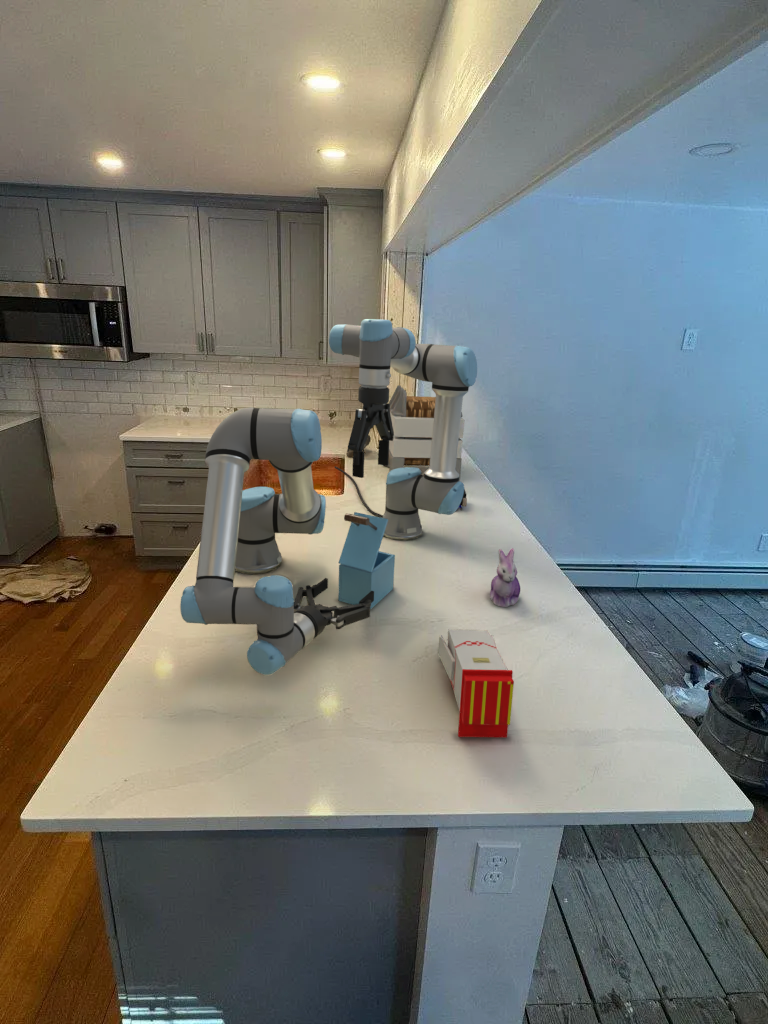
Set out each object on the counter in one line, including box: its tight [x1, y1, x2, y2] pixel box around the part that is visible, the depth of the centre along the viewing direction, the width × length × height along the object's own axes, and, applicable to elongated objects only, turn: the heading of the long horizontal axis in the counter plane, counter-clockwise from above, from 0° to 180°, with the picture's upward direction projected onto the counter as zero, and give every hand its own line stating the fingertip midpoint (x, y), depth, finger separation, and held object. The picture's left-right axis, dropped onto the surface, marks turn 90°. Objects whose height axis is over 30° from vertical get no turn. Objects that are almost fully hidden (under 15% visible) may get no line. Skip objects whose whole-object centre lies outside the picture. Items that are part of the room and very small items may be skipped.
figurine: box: [489, 547, 521, 608], centre depth 154 cm, size 9×10×15 cm
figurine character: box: [458, 488, 468, 511], centre depth 230 cm, size 7×8×15 cm
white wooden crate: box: [386, 384, 465, 482], centre depth 268 cm, size 34×33×41 cm
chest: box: [337, 550, 396, 611], centre depth 155 cm, size 14×10×11 cm
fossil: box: [346, 434, 372, 458], centre depth 305 cm, size 22×10×15 cm
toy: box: [437, 628, 515, 738], centre depth 117 cm, size 12×13×30 cm
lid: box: [338, 511, 388, 572], centre depth 145 cm, size 14×10×9 cm
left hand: (349, 589), depth 146 cm, fingers open, 13 cm apart
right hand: (371, 470), depth 145 cm, fingers open, 13 cm apart
